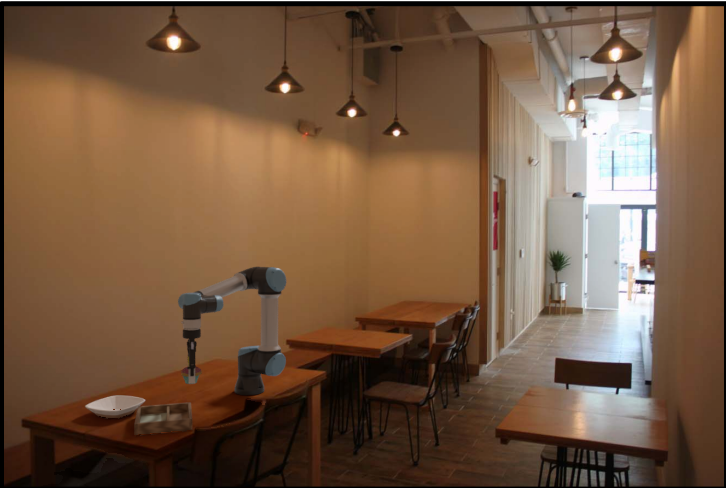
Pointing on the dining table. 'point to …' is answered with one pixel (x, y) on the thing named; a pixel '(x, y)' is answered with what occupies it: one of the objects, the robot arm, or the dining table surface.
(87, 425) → the dining table surface
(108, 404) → the bowl
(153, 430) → the crate
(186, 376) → the cupcake
